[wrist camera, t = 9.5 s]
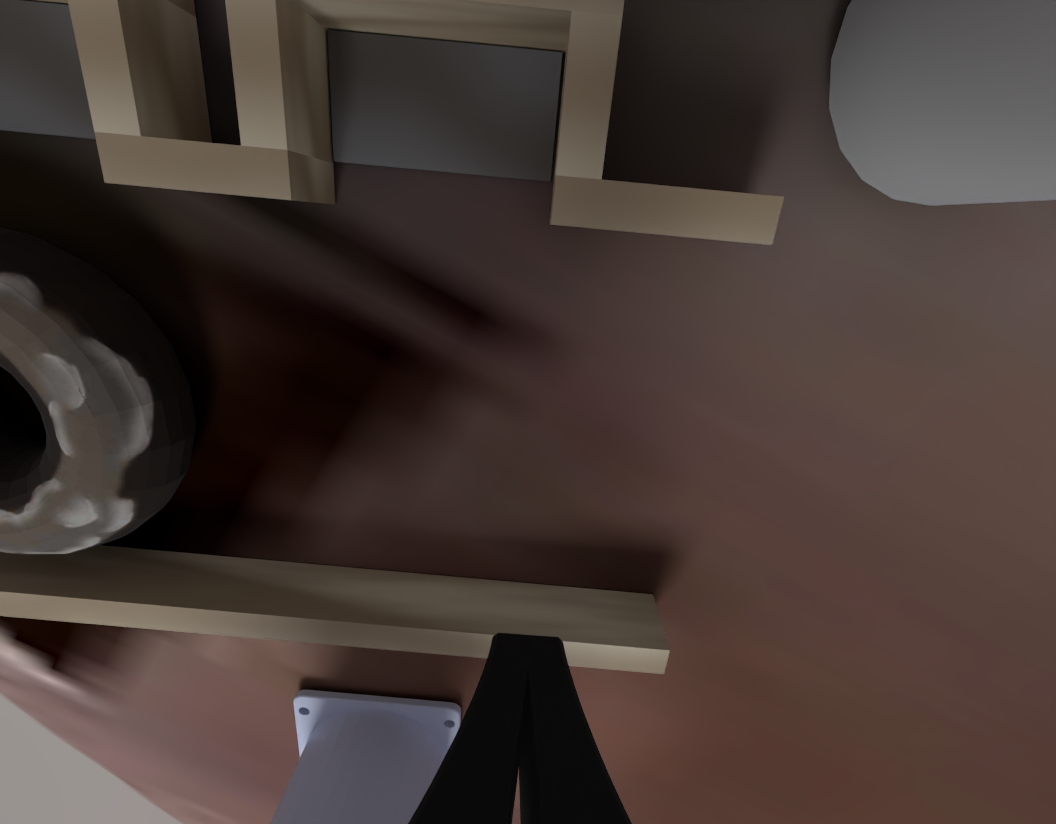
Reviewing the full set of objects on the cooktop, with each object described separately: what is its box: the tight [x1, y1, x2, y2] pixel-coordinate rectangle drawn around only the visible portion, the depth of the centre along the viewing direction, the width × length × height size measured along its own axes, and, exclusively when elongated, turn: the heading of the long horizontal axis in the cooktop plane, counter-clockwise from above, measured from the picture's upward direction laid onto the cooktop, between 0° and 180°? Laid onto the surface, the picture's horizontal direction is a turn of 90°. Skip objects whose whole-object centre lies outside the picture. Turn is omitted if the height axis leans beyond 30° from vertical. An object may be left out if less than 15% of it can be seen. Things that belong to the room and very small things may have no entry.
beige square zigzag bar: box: [0, 0, 784, 674], centre depth 16 cm, size 22×31×3 cm
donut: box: [0, 227, 196, 555], centre depth 17 cm, size 12×12×4 cm
